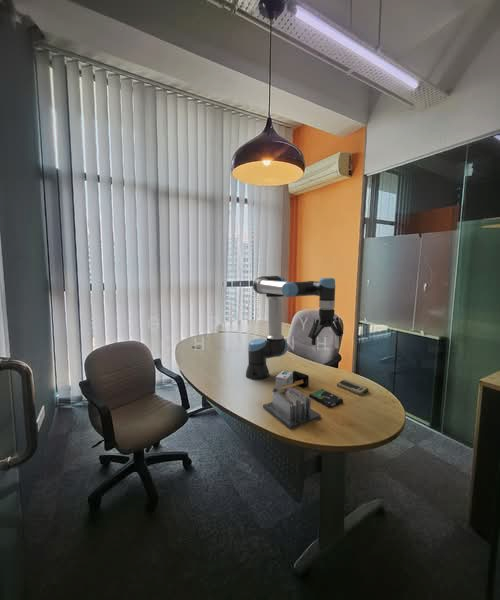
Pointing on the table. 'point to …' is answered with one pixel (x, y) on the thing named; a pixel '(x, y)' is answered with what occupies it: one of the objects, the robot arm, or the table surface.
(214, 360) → the table surface
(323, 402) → the disk drive
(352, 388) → the computer
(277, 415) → the heatsink base
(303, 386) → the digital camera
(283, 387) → the latch bar
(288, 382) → the light bulb box
